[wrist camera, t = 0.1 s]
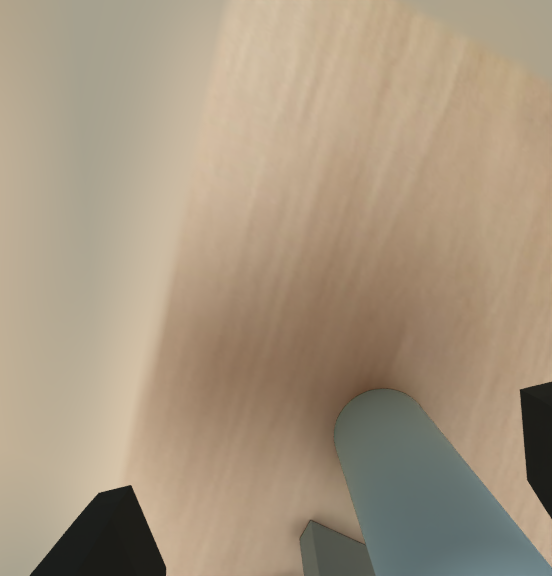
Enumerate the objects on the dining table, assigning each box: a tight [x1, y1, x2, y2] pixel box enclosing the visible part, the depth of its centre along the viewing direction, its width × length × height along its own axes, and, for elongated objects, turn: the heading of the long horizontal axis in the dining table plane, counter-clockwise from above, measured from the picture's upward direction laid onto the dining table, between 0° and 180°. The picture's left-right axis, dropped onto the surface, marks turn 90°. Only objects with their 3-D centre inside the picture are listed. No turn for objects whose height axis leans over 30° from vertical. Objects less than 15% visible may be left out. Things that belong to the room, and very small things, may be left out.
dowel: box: [334, 389, 552, 576], centre depth 15 cm, size 4×4×9 cm
